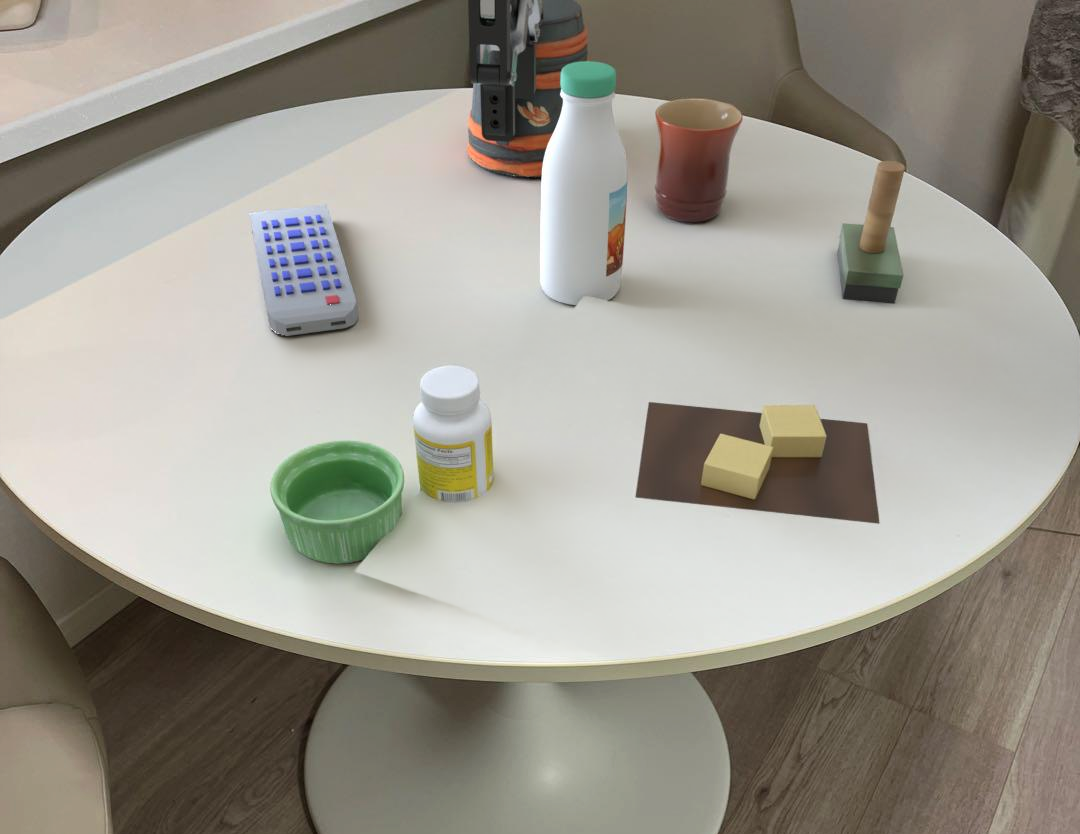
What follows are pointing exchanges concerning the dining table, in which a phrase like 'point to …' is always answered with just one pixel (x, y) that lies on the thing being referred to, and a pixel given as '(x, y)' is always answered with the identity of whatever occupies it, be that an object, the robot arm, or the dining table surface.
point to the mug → (694, 157)
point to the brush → (873, 243)
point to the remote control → (302, 271)
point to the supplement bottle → (453, 436)
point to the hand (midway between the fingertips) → (509, 117)
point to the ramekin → (338, 499)
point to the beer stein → (541, 112)
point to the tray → (790, 483)
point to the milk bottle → (583, 190)
